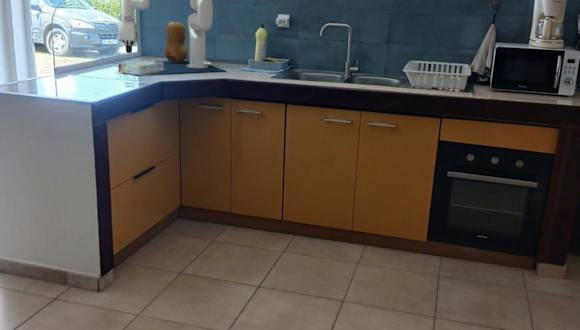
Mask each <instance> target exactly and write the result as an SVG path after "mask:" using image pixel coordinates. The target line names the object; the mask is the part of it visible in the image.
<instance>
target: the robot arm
mask: <svg viewBox="0 0 580 330" xmlns="http://www.w3.org/2000/svg"><path fill="white" fill-rule="evenodd" d="M150 5H151V4H150V0H119V8H120V9H119V10H120V11H119V12H120V13H119V14H120V21H119V25H118V38H119V42H121V43H123V44H124V46H125V52H126V54H132V52H133V45H134V44H135V43H138V41H139V38H140V37H139V36H140V35H139V28H138V24H137V20H138V19H137V17H136V16H135V10H139V11H145V10H148V9H149V7H150ZM189 6H190V8H191V9H193V10H194V11H197V12H194V13H191V14H190V15H189V16H188V18H187V27H188V39H189V40H188V41H189V43H188V45H189V49H188V50H189V52H188V53H189V55H188V56H189V61H188V64H186V68H191V69H207V68H209V66H212V63H213V62H212V61H208V59H206V33H205V32H206V31H209V30H210V29H211V28H212V25H213V24H212V23H213V14H214V13H213V12H214V11H213V10H214V9H213V8H214V5H213V0H189Z"/></svg>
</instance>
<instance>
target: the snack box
mask: <svg viewBox="0 0 580 330" xmlns="http://www.w3.org/2000/svg"><path fill="white" fill-rule="evenodd" d="M159 71H164V61H160V60H150V59H136V60H130V61H125V62H119V63H118V72H119V73H123V74H126V73H129V74H136V75H135V76H138V75H144V74H149V73H154V72H159ZM164 72H165V71H164Z"/></svg>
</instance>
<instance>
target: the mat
mask: <svg viewBox="0 0 580 330" xmlns="http://www.w3.org/2000/svg"><path fill="white" fill-rule="evenodd" d="M166 70H167V69H164V72H167V71H166ZM160 72H161V73H162V72H163V71H159V72H154V73H149V74H144V75H136V74H129V73H125V75H126V76H128V75H129V76H139V77H140V76H141V77H151V76H154V75H157V74H160ZM164 72H163V73H164Z"/></svg>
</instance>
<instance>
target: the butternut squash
mask: <svg viewBox="0 0 580 330" xmlns="http://www.w3.org/2000/svg"><path fill="white" fill-rule="evenodd" d="M185 40H186V27H185V25H184V24H183V23H181V22H178V21H177V22H176V21H170V22H168V23H167V25H166V44H165V45H166V46H165V48H164V55H165V58H166V59H167V60H168V61H169V62H172V63H174V64H177V63H179V64H180V63H183V62H185V61H186V59H187V57H188V49H187V46H186V45H185V44H186V43H185Z"/></svg>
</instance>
